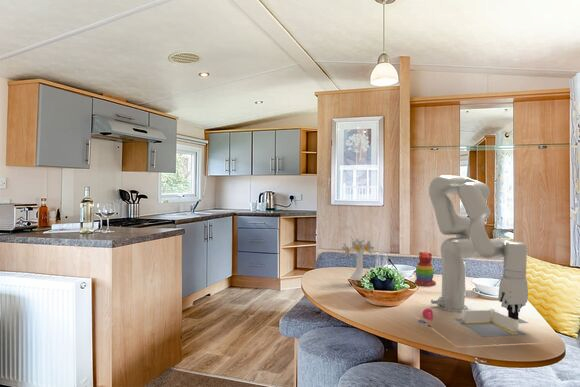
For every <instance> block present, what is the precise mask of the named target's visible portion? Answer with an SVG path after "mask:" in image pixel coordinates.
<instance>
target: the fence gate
mask: <svg viewBox="0 0 580 387" xmlns="http://www.w3.org/2000/svg"><path fill="white" fill-rule="evenodd" d="M493 322H494V323H496V324H498V325H500V326H502V327H504V328H506V329H508V330H510V331H513V332H514V333H518V330H519V323H518V320H517V319H513V318H510V317H508V315H505V314H504V313H501V312H499V311H497V310H495V311H493Z"/></svg>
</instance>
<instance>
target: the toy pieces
mask: <svg viewBox="0 0 580 387" xmlns="http://www.w3.org/2000/svg"><path fill="white" fill-rule="evenodd" d="M433 314H434V310H433V309H432V308H429V307H428V308H424V309H423V311H422V316H423V317H424V318H425V319H427V320H428V321H430V322H432V321H433V316H434V315H433ZM417 322H418V323H419V324H422V325H423V324H427V322H426V321H424V320H423V319H418V320H417ZM427 327H428V328H432V326H431V325H429V324H427Z"/></svg>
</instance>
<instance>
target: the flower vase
mask: <svg viewBox="0 0 580 387" xmlns="http://www.w3.org/2000/svg"><path fill="white" fill-rule="evenodd" d="M365 241H366V240H365V239H364V238H363V239H361V240H360V239H359V238H355V241H354V240H353V241H351V246H350V247H348V246H347V244H346V243H343V246H342V247H341V249H342V250H343V252H344V256H345V257H347V256H348V257H349V258H350V257H351V251H354V254H355V255H356V268H355V270H354V272H353V273H352V274H351V276H350V281H351V280H360V279H361V278H362V276H363V275H365V274H366V273H365V270H364V267H363V265H364V264H363V262H364V261H363V259H364V257H363V256H364V255H366V254H368V256H372V251H373V252H375V250H374V249H375V247H374V246H373V245H372V243H371V241H370V240H369V238H368V239H367V242H366V243H365Z"/></svg>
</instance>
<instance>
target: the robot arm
mask: <svg viewBox="0 0 580 387" xmlns="http://www.w3.org/2000/svg"><path fill="white" fill-rule="evenodd" d="M448 194H449V195H451V194H452V195H454V194H455V195H458V198H459V199H460V201H461V204H462V206H463V207H464V210H465V211H466V214H467V215H465V214H462V213H456V209H455V207H454V202H452V200H451V198H449V196H448ZM428 196H429V199H430V201H431V203H432V207H433V209H434V215H435V218H436V219H435V220H436V222H437V226H438V229H439V232H440V233H441V234H442V235H444V236H456V237H450V238H446V239H445V240H443V241H442V243H441V246H440V255H441V261H442V262H441V264H442V268H441V269H442V270H441V296H439V297H438V298H437V299H436V298H434V299H431V300H430V303H431V304H432V305H437V307H438V308H440V309H441V310H444V311H448V312H454V313H462V310H463V309H464V310H469V307H468V306H467V305H465V299H466V298H465V297H466V296H465V292H466V266H465V264H464V261H463V260H464V259H471V258H474V257H475V256H477V255H479V256H480V257H482V258H483V259H486V260H487V259H496V258H497V259H499V258H503V266H502V267H503V268H502V272H503V275H502V276H501V278H500V281H499V282H500V283H499V288H498V298H497V299H498V302H499V303H501V305H500V307H502V308H504V309H506V311H507V316H508V317H510V318H513V319H517V320H518V318H519V314H520V311H521V309H522V308H523V307H525V306H526V304H527V303H528V299H529V288H528V287H529V286H528V279H527V263H528V262H527V259H528V258H527V256H528V254H527V253H528V247H527V244H526V243H525V242H522V241H521V242H520V241H514V240H513V241H512V240H508V239H505V238H489V236H488V233H487V231H486V226H485V224H486V220H487V219H489V217H491V214H492V212H491V209H490V207H489V206H488V203H487V200H488V199H489V198H490V196H491V189H490V187H489V186H488V185H487V184H486V183H484V182H483V181H482V182H481V181H480V180H479V181H478V180H476V179H472V178H469V177H467V176H465V175H453V174H441V175H438V176H436V177H434V178H433V179H432V180H431V181H430V183H429V186H428Z"/></svg>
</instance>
